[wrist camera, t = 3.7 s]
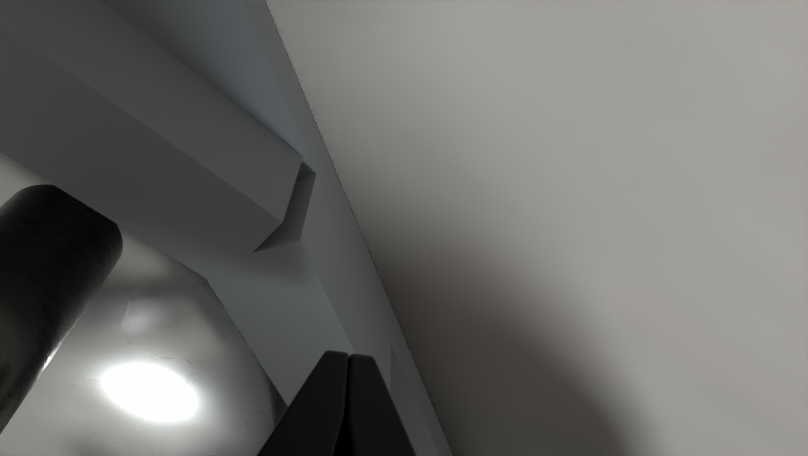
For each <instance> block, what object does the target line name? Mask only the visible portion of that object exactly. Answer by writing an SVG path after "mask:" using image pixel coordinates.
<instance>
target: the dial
mask: <svg viewBox="0 0 808 456" xmlns="http://www.w3.org/2000/svg"><path fill="white" fill-rule="evenodd" d="M280 405H281V395H280V394H279V392H278V390H277V389H276V387H275V386H274V384H273V383H272V381H271V379H270V378H269V376H268V375H267V373H266V372H265V370H264V369H263V367H262V365H261V364H260V362H259V361H258V359H257V358H256V356H255V354H254V353H253V351H252V350H251V348H250V347H249V345H248V344H247V342H246V340H245V339H244V337H243V336H242V334H241V333H240V331H239V329H238V328H237V326H236V325H235V323H234V322H233V320H232V318H231V317H230V315H229V314H228V312H227V311H226V309H225V308H224V306H223V304H222V303H221V301H220V300H219V298H218V297H217V295H216V293H215V292H214V290H213V289H212V287H211V286H210V284H209V283H208V281H207V279H206V278H204V277H203V276H201V275H200V274H198V273H196V272H195V271H193V270H191V269H190V268H188V267H187V266H185V265H183V264H182V263H180V262H178V261H177V260H175V259H174V258H172V257H170V256H169V255H167V254H165V253H164V252H162V251H161V250H159V249H157V248H156V247H154V246H152V245H151V244H149V243H147V242H146V241H144V240H143V239H141V238H139V237H138V236H136V235H134V234H133V233H131V232H130V231H128V230H126V229H125V228H123V227H121V226H120V225H118V224H117V223H115V222H113V221H112V220H110V219H108V218H107V217H105V216H104V215H102V214H100V213H99V212H97V211H95V210H94V209H92V208H91V207H89V206H87V205H86V204H84V203H82V202H81V201H79V200H78V199H76V198H74V197H73V196H71V195H69V194H68V193H66V192H64V191H63V190H61V189H60V188H58V187H56V186H55V185H53V184H51V183H50V182H48V181H47V180H45V179H43V178H42V177H40V176H38V175H37V174H35V173H34V172H32V171H30V170H29V169H27V168H25V167H24V166H22V165H21V164H19V163H17V162H16V161H14V160H12V159H11V158H9V157H8V156H6V155H4V154H3V153H1V152H0V456H256V455H257V453H258V452H259V450H260V449H261V447H262V446H263V444H264V443H265V441H266V440H267V438H268V437H269V435H270V434H271V432H272V430H273V429H274V427H275V426H276V424H277V421H278V416H279V411H280Z"/></svg>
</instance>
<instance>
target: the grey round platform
mask: <svg viewBox="0 0 808 456" xmlns="http://www.w3.org/2000/svg"><path fill="white" fill-rule="evenodd" d="M0 152H1V153H3V154H4V155H6V156H8V157H9V158H11V159H12V160H14V161H16V162H17V163H19V164H21V165H22V166H24V167H25V168H27V169H29V170H30V171H32V172H34V173H35V174H37V175H38V176H40V177H42V178H43V179H45V180H47V181H48V182H50V183H51V184H53V185H55V186H56V187H58V188H60V189H61V190H63V191H64V192H66V193H68V194H69V195H71V196H73V197H74V198H76V199H78V200H79V201H81V202H82V203H84V204H86V205H87V206H89V207H91V208H92V209H94V210H95V211H97V212H99V213H100V214H102V215H104V216H105V217H107V218H108V219H110V220H112V221H113V222H115V223H117V224H118V225H120V226H121V227H123V228H125V229H126V230H128V231H130V232H131V233H133V234H134V235H136V236H138V237H139V238H141V239H143V240H144V241H146V242H147V243H149V244H151V245H152V246H154V247H156V248H157V249H159V250H161V251H162V252H164V253H165V254H167V255H169V256H170V257H172V258H174V259H175V260H177V261H178V262H180V263H182V264H183V265H185V266H187V267H188V268H190V269H191V270H193V271H195V272H196V273H198V274H200V275H201V276H203V277H204V278H206V279H207V281H208V283H209V284H210V286H211V287H212V289H213V290H214V292H215V293H216V295H217V297H218V298H219V300H220V301H221V303H222V304H223V306H224V308H225V309H226V311H227V312H228V314H229V315H230V317H231V318H232V320H233V322H234V323H235V325H236V326H237V328H238V329H239V331H240V333H241V334H242V336H243V337H244V339H245V340H246V342H247V344H248V345H249V347H250V348H251V350H252V351H253V353H254V354H255V356H256V358H257V359H258V361H259V362H260V364H261V365H262V367H263V369H264V370H265V372H266V373H267V375H268V376H269V378H270V379H271V381H272V383H273V384H274V386H275V387H276V389H277V390H278V392H279V394H280V395H281V405H280V411H279V416H278V421H279V420H280V418H281V417H282V415H283V414H284V412H285V411H286V409H287V408H288V406H289V405H290V403H291V402H292V400H293V399H294V397H295V396H296V394H297V393H298V391H299V390H300V388H301V386H302V385H303V383H304V382H305V380H306V379H307V377H308V376H309V374H310V373H311V371H312V370H313V368H314V367H315V365H316V364H317V362H318V361H319V359H320V358H321V356H322V355H323V353H324V352H325V351H327V350H333V351H340V352H346V353H348V354H349V357H350V355H351V354H354V353H355V354H362V355H369V356H372V357H374V358H375V360H376V362H377V364H378V367H379V369H380V371H381V374H382V376H383V378H384V381H385V383H386V385H387V387H388V390H389V392H390V394H391V397H392V399H393V401H394V404H395V406H396V408H397V410H398V413H399V415H400V417H401V420H402V422H403V424H404V427H405V429H406V431H407V433H408V436H409V438H410V440H411V443H412V445H413V447H414V450H415V452H416V454H417V456H453V454H452V451H451V449H450V447H449V444H448V442H447V439H446V437H445V434H444V432H443V430H442V427H441V425H440V422H439V420H438V417H437V415H436V413H435V410H434V408H433V405H432V403H431V401H430V398H429V396H428V393H427V391H426V388H425V386H424V384H423V381H422V379H421V376H420V374H419V371H418V369H417V367H416V364H415V362H414V359H413V357H412V354H411V352H410V350H409V347H408V345H407V342H406V340H405V338H404V335H403V333H402V330H401V328H400V325H399V323H398V321H397V318H396V316H395V313H394V311H393V308H392V306H391V304H390V301H389V299H388V296H387V294H386V291H385V289H384V287H383V284H382V282H381V279H380V277H379V275H378V272H377V270H376V267H375V265H374V262H373V260H372V258H371V255H370V253H369V250H368V248H367V245H366V243H365V241H364V238H363V236H362V233H361V231H360V229H359V226H358V224H357V221H356V219H355V216H354V214H353V212H352V209H351V207H350V204H349V202H348V199H347V197H346V195H345V192H344V190H343V187H342V185H341V182H340V180H339V178H338V175H337V173H336V170H335V168H334V166H333V163H332V161H331V158H330V156H329V153H328V151H327V149H326V146H325V144H324V141H323V139H322V136H321V134H320V132H319V129H318V127H317V124H316V122H315V120H314V117H313V115H312V112H311V110H310V107H309V105H308V103H307V100H306V98H305V95H304V93H303V90H302V88H301V86H300V83H299V81H298V78H297V76H296V73H295V71H294V69H293V66H292V64H291V61H290V59H289V57H288V54H287V52H286V49H285V47H284V44H283V42H282V40H281V37H280V35H279V32H278V30H277V27H276V25H275V23H274V20H273V18H272V15H271V13H270V11H269V8H268V6H267V3H266V1H265V0H0ZM278 421H277V423H278Z"/></svg>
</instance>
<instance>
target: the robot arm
mask: <svg viewBox="0 0 808 456" xmlns="http://www.w3.org/2000/svg"><path fill="white" fill-rule="evenodd" d="M256 456H417V454H416V452H415V450H414V447H413V445H412V443H411V440H410V438H409V436H408V433H407V431H406V429H405V427H404V424H403V422H402V420H401V417H400V415H399V413H398V410H397V408H396V406H395V404H394V401H393V399H392V397H391V394H390V392H389V390H388V387H387V385H386V383H385V381H384V378H383V376H382V374H381V371H380V369H379V367H378V364H377V362H376V360H375V358H374V357H372V356H369V355H362V354H355V353H354V354H351V355H350V357H349V354H348V353H346V352H340V351H333V350H327V351H325V352H324V353H323V355H322V356H321V358H320V359H319V361H318V362H317V364H316V365H315V367H314V368H313V370H312V371H311V373H310V374H309V376H308V377H307V379H306V380H305V382H304V383H303V385H302V386H301V388H300V390H299V391H298V393H297V394H296V396H295V397H294V399H293V400H292V402H291V403H290V405H289V406H288V408H287V409H286V411H285V412H284V414H283V415H282V417H281V418H280V420H279V421H278V423H277V424H276V426H275V427H274V429H273V430H272V432H271V434H270V435H269V437H268V438H267V440H266V441H265V443H264V444H263V446H262V447H261V449H260V450H259V452H258V453H257V455H256Z"/></svg>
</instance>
